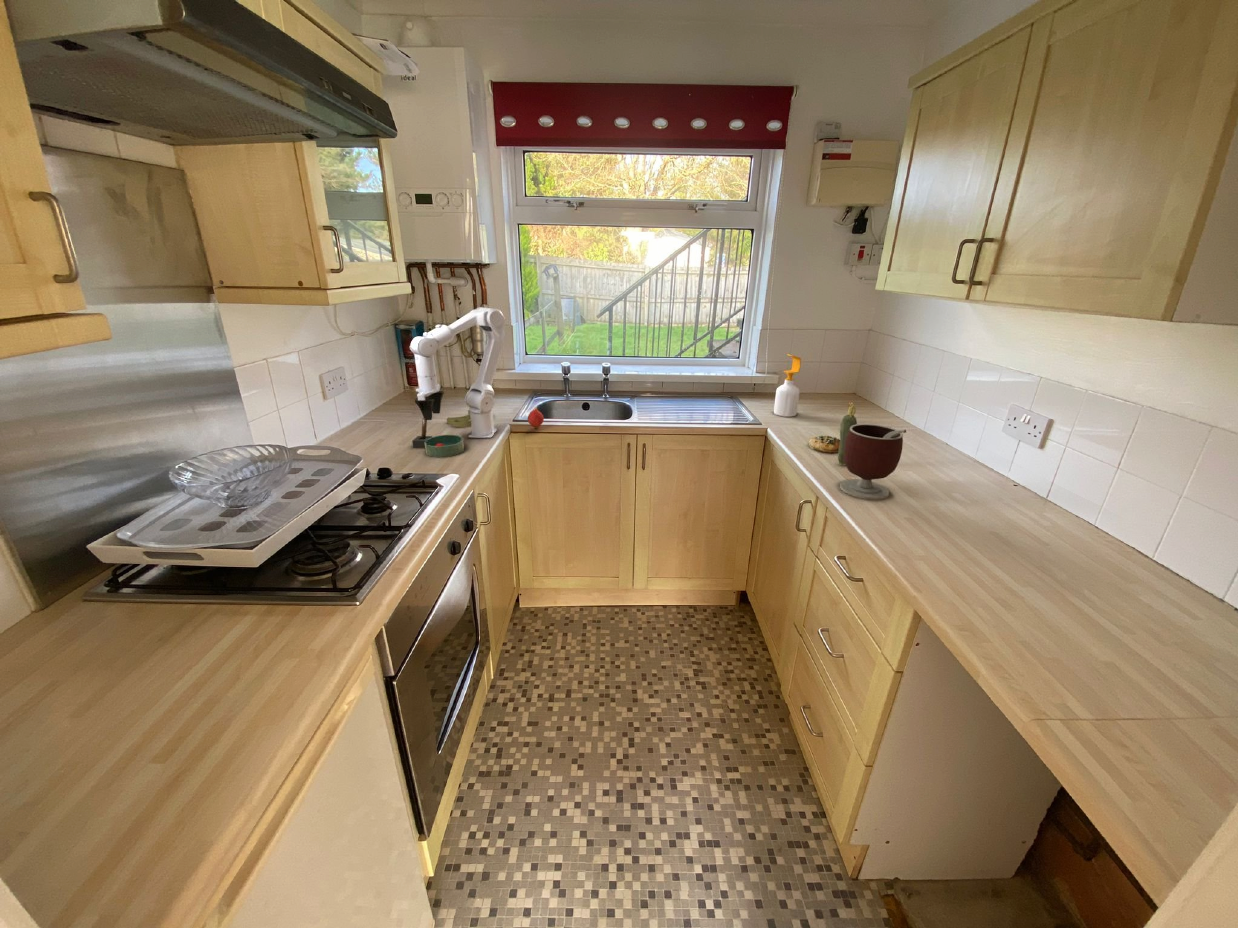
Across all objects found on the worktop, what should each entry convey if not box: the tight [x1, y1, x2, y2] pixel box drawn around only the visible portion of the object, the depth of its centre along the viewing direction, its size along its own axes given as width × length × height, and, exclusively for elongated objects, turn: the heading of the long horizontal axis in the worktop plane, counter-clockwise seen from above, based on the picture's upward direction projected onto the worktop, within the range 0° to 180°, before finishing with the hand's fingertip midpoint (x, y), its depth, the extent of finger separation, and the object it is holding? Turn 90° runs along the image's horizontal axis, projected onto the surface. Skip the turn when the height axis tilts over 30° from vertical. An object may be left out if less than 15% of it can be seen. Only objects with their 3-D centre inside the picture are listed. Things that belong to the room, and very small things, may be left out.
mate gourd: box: [839, 423, 907, 501], centre depth 136 cm, size 16×14×20 cm
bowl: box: [424, 434, 465, 458], centre depth 166 cm, size 12×12×4 cm
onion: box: [527, 407, 545, 429], centre depth 188 cm, size 6×6×8 cm
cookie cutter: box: [446, 409, 471, 428], centre depth 198 cm, size 18×12×2 cm, turn 155°
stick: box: [420, 417, 428, 439], centre depth 170 cm, size 1×1×10 cm
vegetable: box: [837, 401, 858, 466], centre depth 154 cm, size 4×4×20 cm
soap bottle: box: [773, 353, 802, 418], centre depth 207 cm, size 9×9×25 cm
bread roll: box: [808, 435, 840, 454], centre depth 172 cm, size 11×11×5 cm
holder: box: [411, 435, 433, 449], centre depth 171 cm, size 5×5×2 cm
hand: (432, 416), depth 167 cm, fingers open, 7 cm apart
